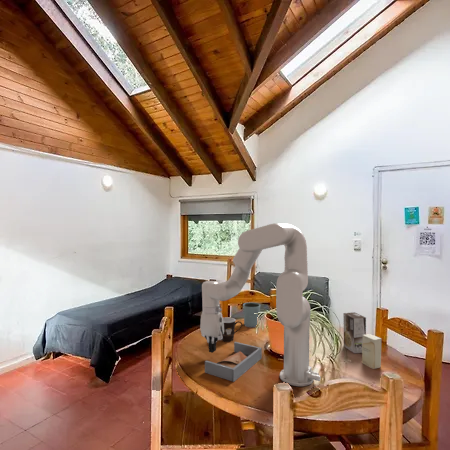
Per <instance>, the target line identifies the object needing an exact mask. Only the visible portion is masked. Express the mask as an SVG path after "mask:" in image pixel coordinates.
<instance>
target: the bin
mask: <svg viewBox="0 0 450 450" xmlns="http://www.w3.org/2000/svg"><path fill="white" fill-rule="evenodd" d="M262 349H263V348H262V347H260V346H259V347H258V346H255V345H252V344H251V345H250V344H247V343H246V344H245V343H242V342H238V341H234V342H233V352H234V353H235V354H236V353H238V352H239V351H241V352H242V353H243V354H244V355H245V356H247V358H245V359H244V360H243V361H242V362H240V363H239V364H238V365H236V366H235V367H234V368H231V367H227V366H224V365H220V364H217V363H218V362H213V361H209V360H205V361H204V373H205V374H208V375H211V376H215V377H217V378H221V379H225V380H227V381H230V382H236V381H237V380H238V379H239V378H241V376H243V375H244V374H245V373H246V372H247V371H248V370H250V369H251V368H252V367H253V366H254V365H256V364H257V362H259V361H260V360H261V359H263V357H262V354H263V353H262Z"/></svg>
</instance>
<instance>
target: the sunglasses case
mask: <svg viewBox="0 0 450 450" xmlns="http://www.w3.org/2000/svg"><path fill="white" fill-rule="evenodd" d="M247 357H248V356H247V355H244V354H243V353H242V352H241V351H239V352H238V353H236V352H235V353H233V354H232V355H230V356H227V357H226V358H224V359H222V360H221V361H218V362H216V363H217V364H220V365H224V366H227V367H231V368H234V367H235V366H236V365H238V364H239V363H240V362H242V361H243V360H244V359H245V358H247Z"/></svg>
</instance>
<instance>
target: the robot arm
mask: <svg viewBox="0 0 450 450" xmlns="http://www.w3.org/2000/svg"><path fill="white" fill-rule="evenodd" d="M237 246H238V250H237V252H236V253H235V255H234V256H233V259H232V262H233V264H234V270H233V271H232V274H231V275H230V277H229V278H228V279H227V280H225V281H223V282H218V281H216V280H206V281H203V282H202V284H201V298H202V303H201V304H202V312H201V315H200V326H199V329H200V334H201V337H203V338H205V340H206V342H207V343H208V352H209V353H211V354H212V353H214V352H216V351H217V342H218V341H222V339H223V336H222V335H223V334H224V323H223V318H224V317H223V314H222V313H223V312H222V311H223V309H222V307H221V306H220V305H221V304H220V301H221V302H225V301H228V300H230V299H232V298H234V297H236V296H238V294H240V293H241V291H242V289H243V288H244V286H245V284H246V283H247V281H248V279H249V276H250V274H251V270H252V268H253V266H254V265H255V263H256V261H257V259H258V258H259V256H260V254H261V253H262V251H263V250H266V249H271V248H275V247H279V246H280V247H281V246H284V271H283V272H281V273H280V275H279V276H278V277H277V280H276V284H275V294H276V295H275V297H276V301H275V302H276V305H275V306H276V307H275V308H276V317H277V320H278V322H279V323H280V324H281V325H282V326H283V369H281V371H280V372H279V378H280V380H281V381H282V382H284V383H285V382H286V383H285V384H287V383H289V384H288V385H290V386H294V387H307V386H309V385H312V384H313V382H314V381H316V382H321V378H322V377H321V375H320V372H317V371H313V369H312V368H313V367H312V366H310V324H311V304H310V302H309V301H308V299H307V298H305V297H304V295H303V291H305V290H306V288H307V287H308V285H309V284H308V283H309V277H308V247H307V240H306V238H305V235H304V234H303V232H302V230H300V229H299V228H298V227H296V226H294V225H293V224H290V223H285V222H280V223H279V222H278V223H277V222H276V223H270V224H269V223H268V224H267V225H263V226H260V227H255V228H253V229H252V228H251V229H248V230H245V231H243V232H242V233H241V234H240V235H239V236H238V239H237Z"/></svg>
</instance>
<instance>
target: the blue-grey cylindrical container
mask: <svg viewBox="0 0 450 450" xmlns="http://www.w3.org/2000/svg"><path fill="white" fill-rule="evenodd" d="M242 307H243V308H242V309H243V325H244V327H246V328H257V327H256V325H257V317H258V314H254V313H258V312H261V304H260V303H258V302H253V301H251V302H250V301H249V302H245V303H243V304H242Z"/></svg>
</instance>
